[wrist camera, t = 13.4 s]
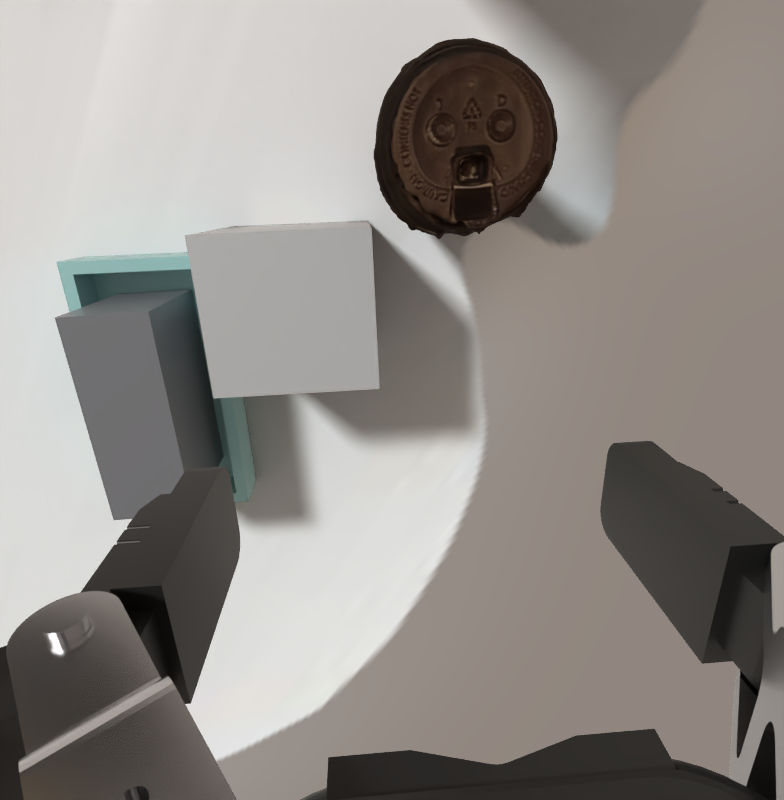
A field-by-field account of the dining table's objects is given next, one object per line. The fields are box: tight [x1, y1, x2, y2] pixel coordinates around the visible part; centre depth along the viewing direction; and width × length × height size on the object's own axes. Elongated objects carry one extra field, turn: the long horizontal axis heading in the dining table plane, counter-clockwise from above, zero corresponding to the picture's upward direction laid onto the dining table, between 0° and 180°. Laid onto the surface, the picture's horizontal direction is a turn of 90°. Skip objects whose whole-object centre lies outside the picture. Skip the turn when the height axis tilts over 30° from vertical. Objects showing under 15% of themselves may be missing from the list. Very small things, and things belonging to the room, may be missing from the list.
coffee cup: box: [374, 38, 557, 239], centre depth 28 cm, size 9×8×13 cm
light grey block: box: [185, 221, 380, 399], centre depth 32 cm, size 9×9×10 cm
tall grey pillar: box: [55, 289, 224, 520], centre depth 34 cm, size 13×5×8 cm, turn 3°
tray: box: [57, 252, 256, 502], centre depth 37 cm, size 18×9×3 cm, turn 2°
